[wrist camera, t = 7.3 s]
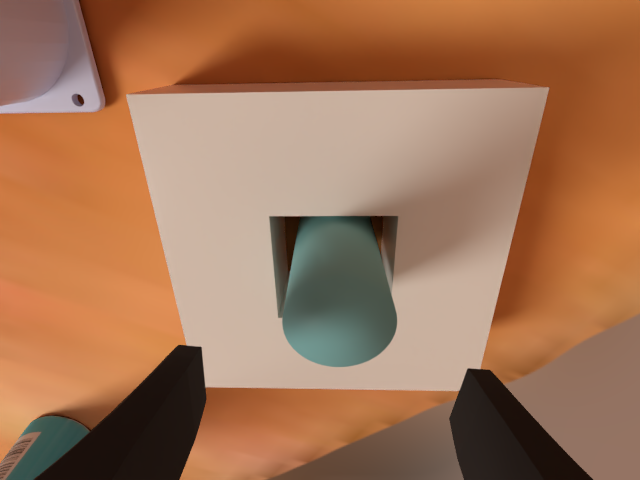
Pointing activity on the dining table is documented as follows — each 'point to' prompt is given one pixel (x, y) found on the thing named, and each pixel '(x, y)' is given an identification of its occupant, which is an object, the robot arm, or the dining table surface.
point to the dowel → (338, 293)
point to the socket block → (338, 213)
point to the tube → (41, 447)
